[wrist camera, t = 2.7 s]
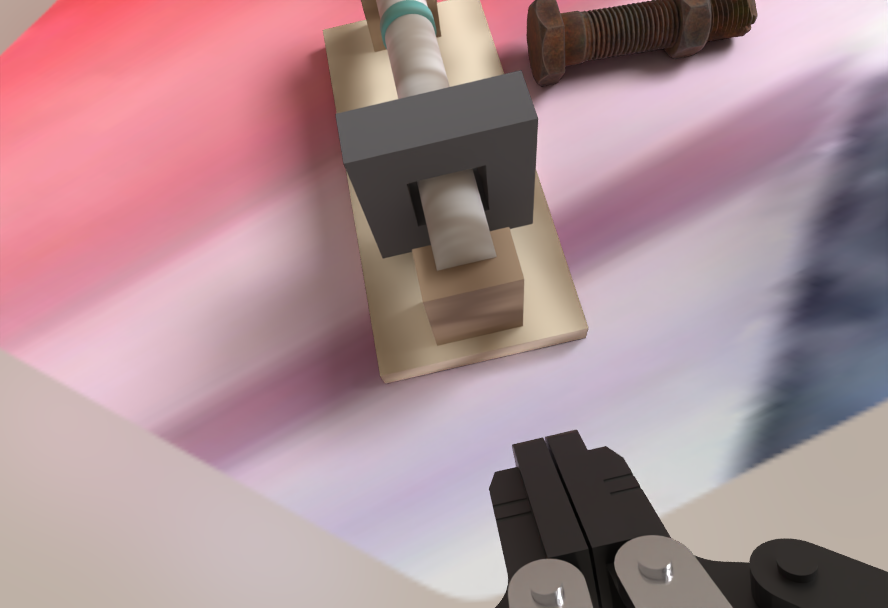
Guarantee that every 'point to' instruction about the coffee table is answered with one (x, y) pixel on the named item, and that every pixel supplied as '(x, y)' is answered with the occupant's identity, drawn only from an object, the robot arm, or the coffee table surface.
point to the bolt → (628, 31)
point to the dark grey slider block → (442, 155)
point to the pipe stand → (448, 209)
